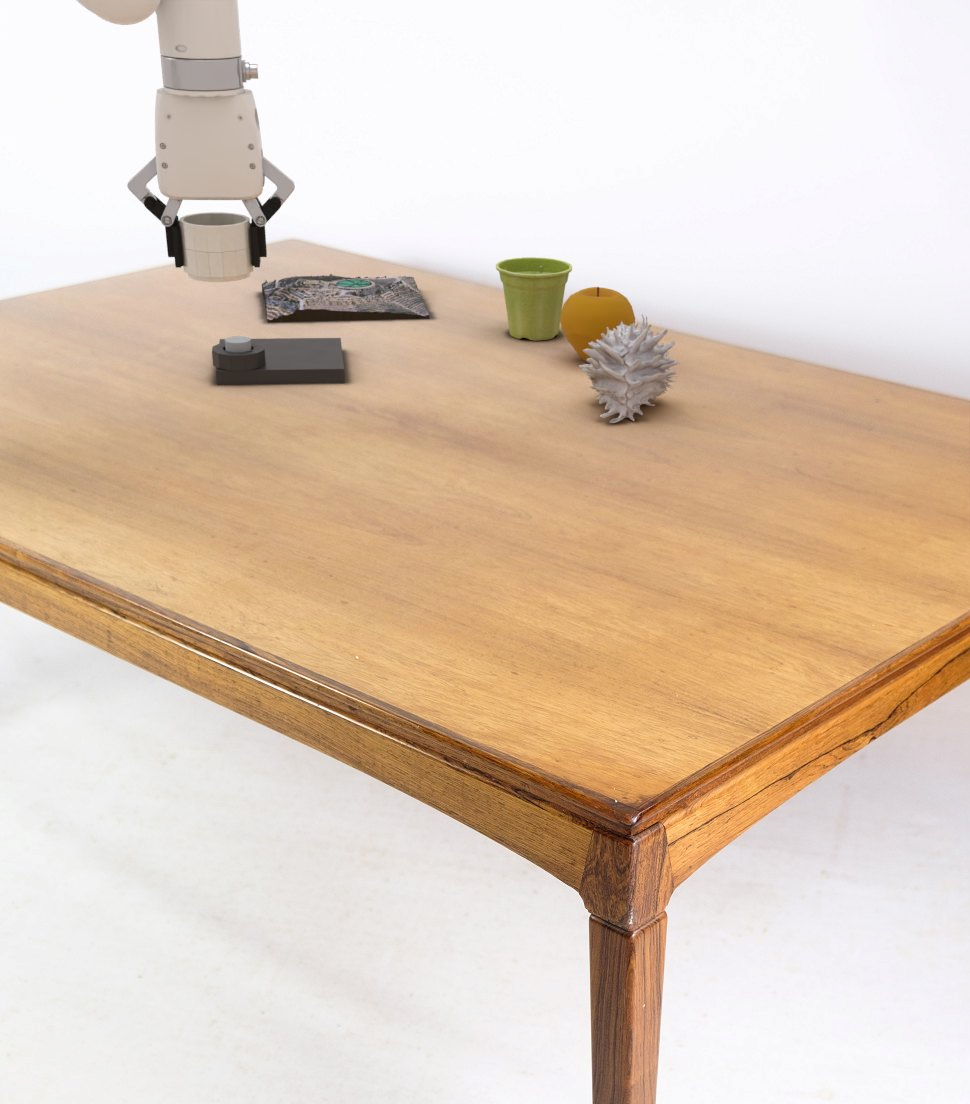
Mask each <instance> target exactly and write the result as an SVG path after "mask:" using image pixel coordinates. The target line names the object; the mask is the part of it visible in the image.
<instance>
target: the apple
mask: <svg viewBox="0 0 970 1104" xmlns="http://www.w3.org/2000/svg"><path fill="white" fill-rule="evenodd" d="M621 320H622V322H623V324H624V325H627V326H631V325H632V324H633V323H634V326H635V324H636V316H635V311H634V309H633V306H632V304H631V303H630V301H629V298H628V297H626V296H624V294H622V293H621V292H619V291H617V290H615V289H611V288H607V287H600V286H591V287H587V288H586V287H585V288H583V289H580V290H578V291H576V292H574V293H572V294H570V295H569V297H568V298H567V299H566V300H565V301H564V302H563V305H562V311H561V316H560V328H561V330H562V332H563V334H564V335H565V338H566V339H567V341H568V342H569V344H570V345H571V347H572V348H573V349H574V351H575V353H576V354H577V355H578V356H579V357H580V359H581V360H582V361H584V362H586V364H590V363H589V362H587V361H586V360H587V359H588V358H591V357H590V356H588V355H587V354H586V353H584V352H583V350H584V349H593V348H592V347H591V346H589V344H588V343H591V341H593V342H594V343H597V342H596V340H597V339H598V340H603V338H602V336H601V334H602V333H604V335H606V334H607V327H608V328H609V330H611V331H613V328H615V329H616V330H617V327H616V326H619V325H620V324H621Z"/></svg>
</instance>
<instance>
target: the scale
mask: <svg viewBox="0 0 970 1104" xmlns="http://www.w3.org/2000/svg"><path fill="white" fill-rule="evenodd" d="M225 339H226V338H219V342H218V343H217V344H215V345H213V346H212V348H211V356H212V358H211V359H212V366H213V367H215V375H216V376H215V377H216V385H217V386H237V385H238V386H243V385H244V386H245V385H247V386H248V385H252V386H253V385H306V384H307V385H308V384H309V385H311V384H312V385H313V384H317V385H318V384H319V385H320V384H345V383H346V378H345V377H346V376H345V364H344V356H343V345H342V338H341V337H291V338H289V337H286V338H285V337H284V338H282V337H281V338H250V339H251V351H246V352H227V351H226V348H225Z"/></svg>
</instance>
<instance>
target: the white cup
mask: <svg viewBox="0 0 970 1104" xmlns="http://www.w3.org/2000/svg"><path fill="white" fill-rule="evenodd" d="M250 223H251V217H249V216H247V215H244V214H240V213H236V212H223V211H220V212H219V211H218V212H217V211H214V212H213V211H209V212H197V213H191V214H186V215H183V216H181V217H180V218H179V225H180V234H181V245H182V255H183V266H182V267H183V272H184V273H185V274H187V276H188V278H189V279H192V280H195V281H198V282H207V283H229V282H237V281H241V280H245V279H247V278H249V277H251V275H252V272H254V268H255V266H252V253H251V240H250Z"/></svg>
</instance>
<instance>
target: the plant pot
mask: <svg viewBox="0 0 970 1104" xmlns="http://www.w3.org/2000/svg"><path fill="white" fill-rule="evenodd" d="M495 269H496V271H498V273H499V279H500V281H501V283H502V287H503V295H504V301H505V309H506V316H507V324H508V330H509V335H510V336H511V337H512V338H515V339H517V340H521V339H523V338H525V339H527V340H528V341H533V342H536V341H537V342H538V341H549V340H552V339H554V338H555V336H558V335H559V332H560V327H561V323H560V316H561V311H562V308H563V305H564V297H565V290H566V285H567V283H568V280H569V277H570V276H569V275H570V273H571V272H573V271H572V270H573V265H572V264H571V263H569V262H567V261H565V260H561V259H556V258H550V257H536V256H535V257H534V256H533V257H532V256H531V257H529V256H525V257H513V258H508V259H503V260H500V261H498V262H497V263H496V264H495Z"/></svg>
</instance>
